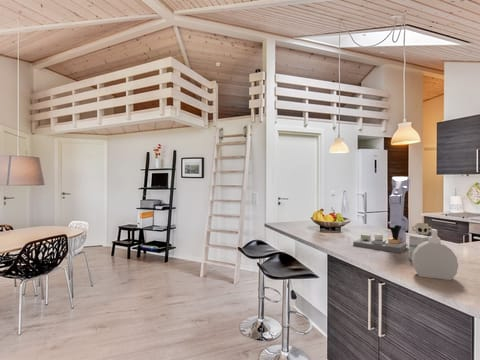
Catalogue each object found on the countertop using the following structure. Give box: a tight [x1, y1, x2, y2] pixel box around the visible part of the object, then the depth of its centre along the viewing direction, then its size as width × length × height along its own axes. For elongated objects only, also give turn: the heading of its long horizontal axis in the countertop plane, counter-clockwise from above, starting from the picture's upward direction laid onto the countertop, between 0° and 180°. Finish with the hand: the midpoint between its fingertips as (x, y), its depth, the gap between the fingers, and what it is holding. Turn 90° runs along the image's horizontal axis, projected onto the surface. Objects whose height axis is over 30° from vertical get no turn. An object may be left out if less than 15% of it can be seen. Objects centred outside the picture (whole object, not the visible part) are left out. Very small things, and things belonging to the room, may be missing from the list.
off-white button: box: [374, 233, 384, 240], centre depth 181 cm, size 4×4×3 cm
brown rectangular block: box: [387, 236, 402, 244], centre depth 175 cm, size 10×5×3 cm, turn 138°
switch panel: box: [352, 238, 407, 254], centre depth 181 cm, size 14×26×4 cm, turn 48°
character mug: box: [411, 222, 433, 236], centre depth 191 cm, size 11×7×13 cm, turn 69°
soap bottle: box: [411, 228, 459, 281], centre depth 127 cm, size 16×5×20 cm, turn 67°
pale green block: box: [360, 233, 372, 240], centre depth 190 cm, size 3×5×3 cm, turn 48°
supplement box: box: [408, 233, 430, 261], centre depth 152 cm, size 7×7×13 cm
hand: (395, 238), depth 175 cm, fingers closed, pressing on brown rectangular block
